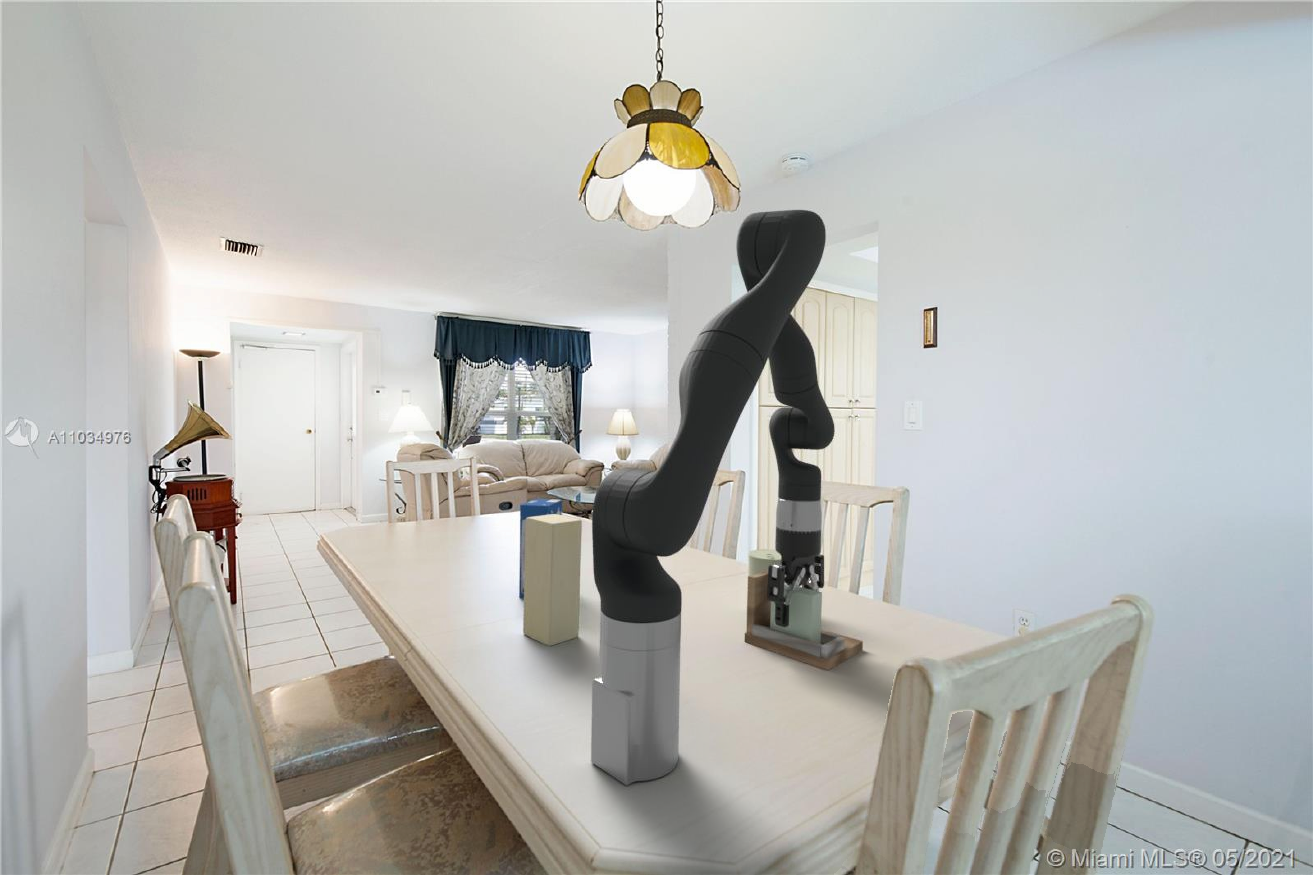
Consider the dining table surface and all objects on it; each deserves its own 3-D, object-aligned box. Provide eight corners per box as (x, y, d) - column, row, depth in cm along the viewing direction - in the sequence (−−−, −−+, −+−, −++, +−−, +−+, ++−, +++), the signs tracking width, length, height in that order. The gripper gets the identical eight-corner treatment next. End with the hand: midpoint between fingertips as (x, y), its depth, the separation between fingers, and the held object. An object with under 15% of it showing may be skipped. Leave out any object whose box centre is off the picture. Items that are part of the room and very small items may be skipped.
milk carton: (535, 584, 136) (536, 498, 136) (561, 586, 135) (562, 499, 135) (519, 598, 126) (520, 504, 126) (547, 599, 125) (548, 505, 125)
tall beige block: (583, 635, 105) (585, 518, 105) (549, 647, 100) (551, 523, 99) (555, 624, 111) (557, 513, 110) (522, 634, 105) (524, 517, 105)
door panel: (811, 650, 97) (812, 596, 97) (769, 636, 103) (771, 585, 102) (820, 645, 99) (822, 592, 99) (779, 632, 105) (781, 582, 104)
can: (744, 614, 118) (746, 555, 118) (748, 601, 127) (750, 545, 127) (791, 619, 116) (793, 558, 116) (792, 605, 125) (794, 548, 125)
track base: (827, 670, 93) (829, 597, 92) (744, 641, 104) (746, 576, 104) (862, 649, 101) (864, 583, 101) (782, 625, 113) (784, 565, 112)
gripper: (795, 534, 93) (792, 636, 93) (839, 523, 103) (836, 616, 103) (755, 527, 98) (753, 624, 98) (801, 517, 108) (798, 605, 108)
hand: (795, 619), depth 101 cm, fingers open, 8 cm apart
